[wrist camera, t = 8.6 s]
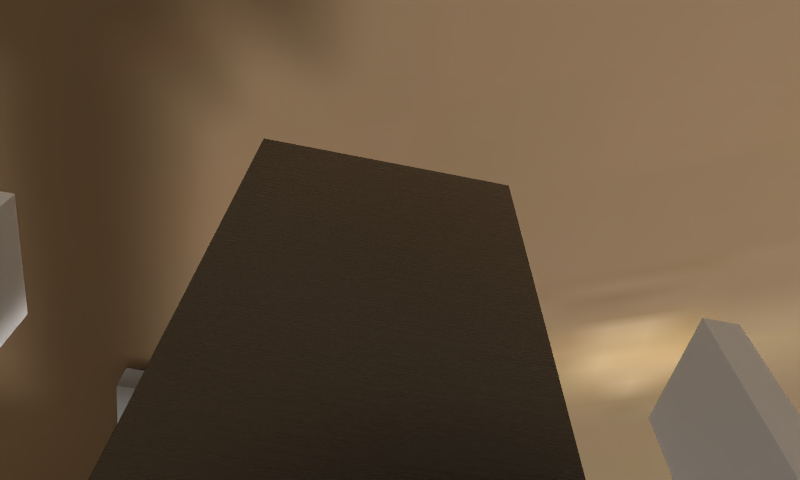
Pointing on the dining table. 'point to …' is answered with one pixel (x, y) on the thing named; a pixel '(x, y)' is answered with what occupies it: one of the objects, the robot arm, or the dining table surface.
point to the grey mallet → (352, 338)
